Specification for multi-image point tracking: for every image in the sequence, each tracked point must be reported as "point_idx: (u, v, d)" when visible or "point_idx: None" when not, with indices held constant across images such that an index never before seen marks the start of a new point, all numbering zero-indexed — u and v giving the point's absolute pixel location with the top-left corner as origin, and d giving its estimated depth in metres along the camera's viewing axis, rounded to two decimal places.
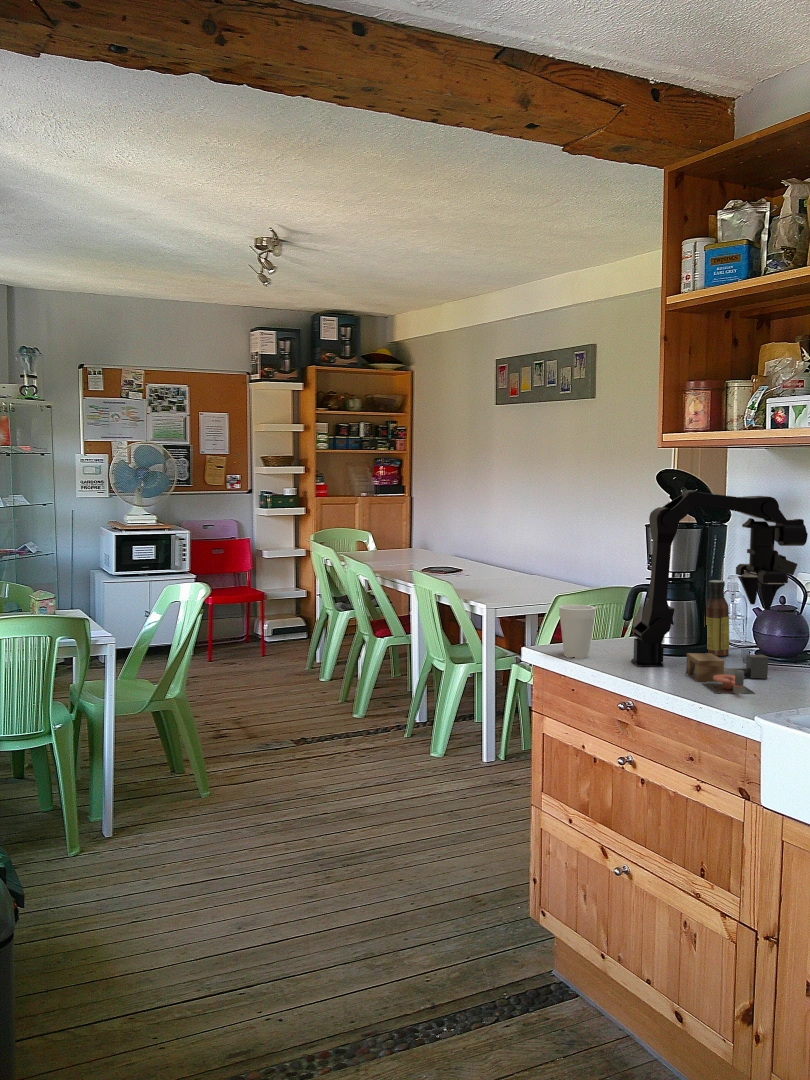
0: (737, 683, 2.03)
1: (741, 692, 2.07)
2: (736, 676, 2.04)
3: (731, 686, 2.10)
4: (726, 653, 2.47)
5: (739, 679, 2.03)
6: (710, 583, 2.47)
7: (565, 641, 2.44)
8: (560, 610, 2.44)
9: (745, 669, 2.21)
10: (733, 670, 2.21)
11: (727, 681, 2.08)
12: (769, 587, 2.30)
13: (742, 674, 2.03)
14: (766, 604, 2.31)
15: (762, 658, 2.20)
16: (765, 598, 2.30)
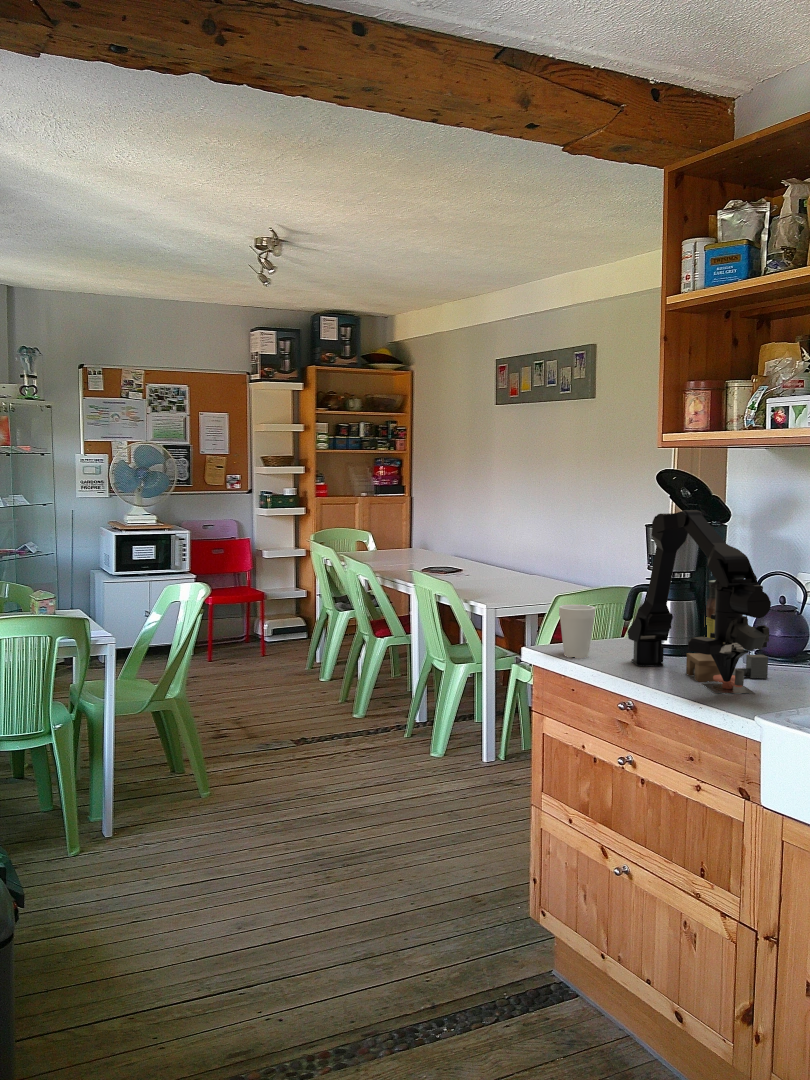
0: (737, 683, 2.03)
1: (741, 692, 2.07)
2: (736, 676, 2.04)
3: (731, 686, 2.10)
4: None
5: (739, 679, 2.03)
6: (710, 583, 2.47)
7: (565, 641, 2.44)
8: (560, 610, 2.44)
9: (745, 669, 2.21)
10: None
11: None
12: (722, 655, 2.03)
13: (742, 674, 2.03)
14: (722, 674, 2.04)
15: (762, 658, 2.20)
16: (719, 667, 2.04)
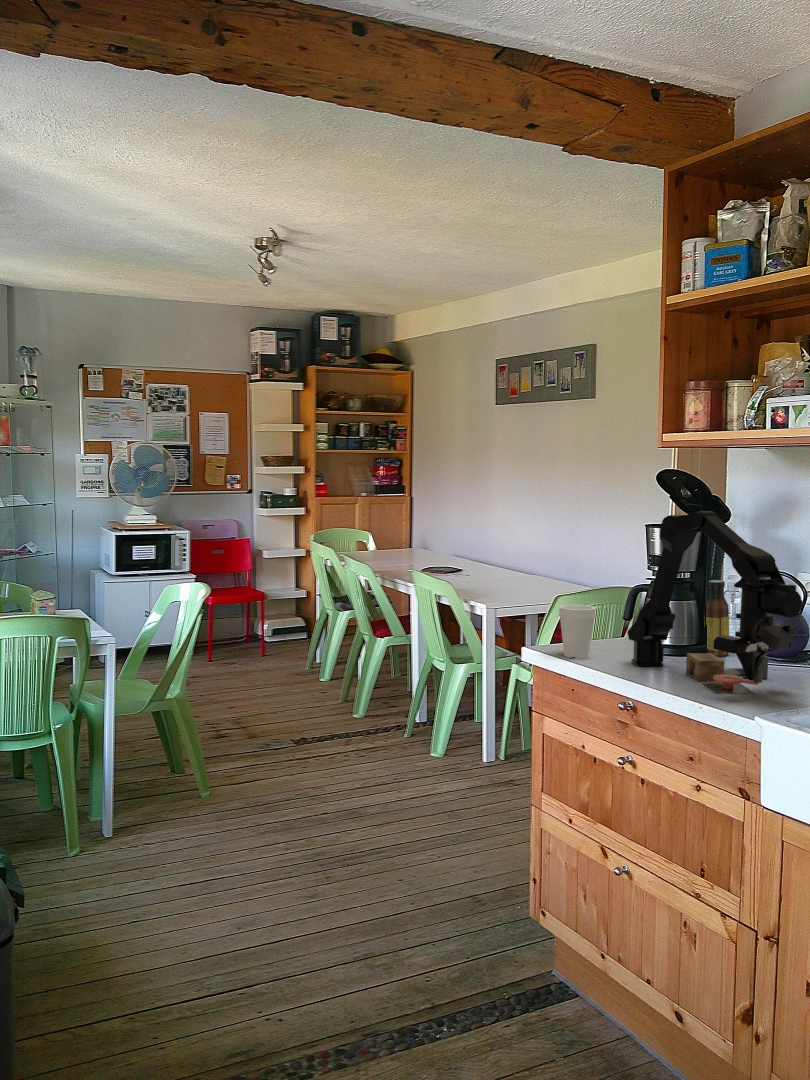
0: (760, 681, 2.06)
1: (741, 692, 2.07)
2: (758, 674, 2.06)
3: (733, 685, 2.10)
4: (726, 653, 2.47)
5: (761, 676, 2.06)
6: (710, 583, 2.47)
7: (565, 641, 2.44)
8: (560, 610, 2.44)
9: None
10: (733, 670, 2.21)
11: (739, 681, 2.08)
12: (747, 654, 2.04)
13: None
14: (747, 673, 2.05)
15: None
16: (744, 665, 2.05)
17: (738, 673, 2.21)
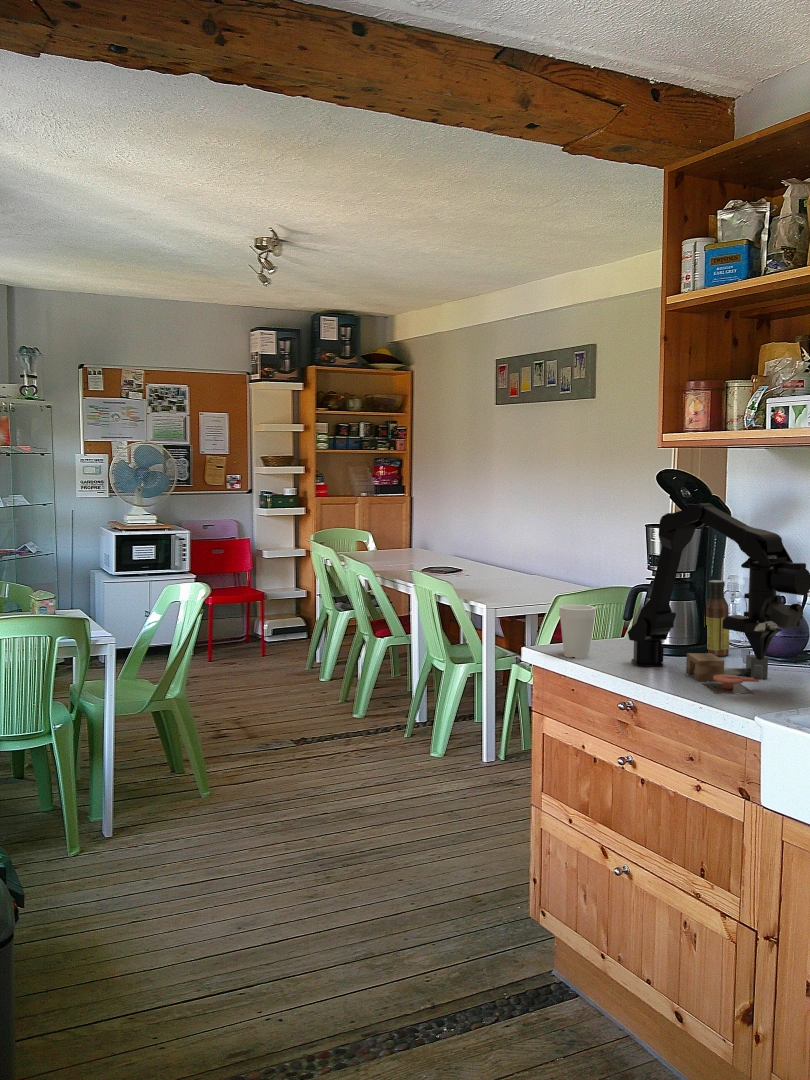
0: (761, 677, 2.09)
1: (741, 692, 2.07)
2: (760, 671, 2.09)
3: None
4: (726, 653, 2.47)
5: (762, 673, 2.09)
6: (710, 583, 2.47)
7: (565, 641, 2.44)
8: (560, 610, 2.44)
9: (745, 669, 2.21)
10: (733, 670, 2.21)
11: (742, 680, 2.09)
12: (756, 634, 2.06)
13: None
14: (755, 652, 2.07)
15: None
16: (752, 645, 2.07)
17: (738, 673, 2.21)
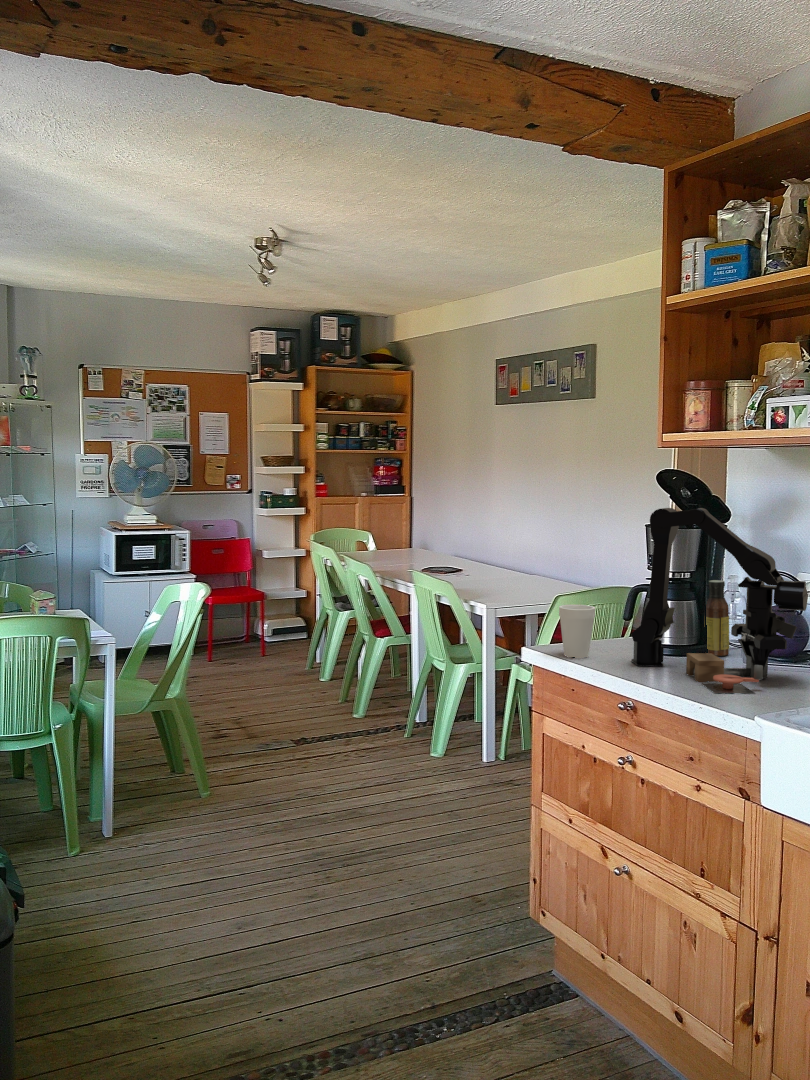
0: (761, 677, 2.09)
1: (741, 692, 2.07)
2: (760, 671, 2.09)
3: None
4: (726, 653, 2.47)
5: (762, 673, 2.09)
6: (710, 583, 2.47)
7: (565, 641, 2.44)
8: (560, 610, 2.44)
9: (745, 669, 2.21)
10: (733, 670, 2.21)
11: (742, 680, 2.09)
12: (761, 650, 2.19)
13: None
14: None
15: None
16: (757, 661, 2.19)
17: (738, 673, 2.21)
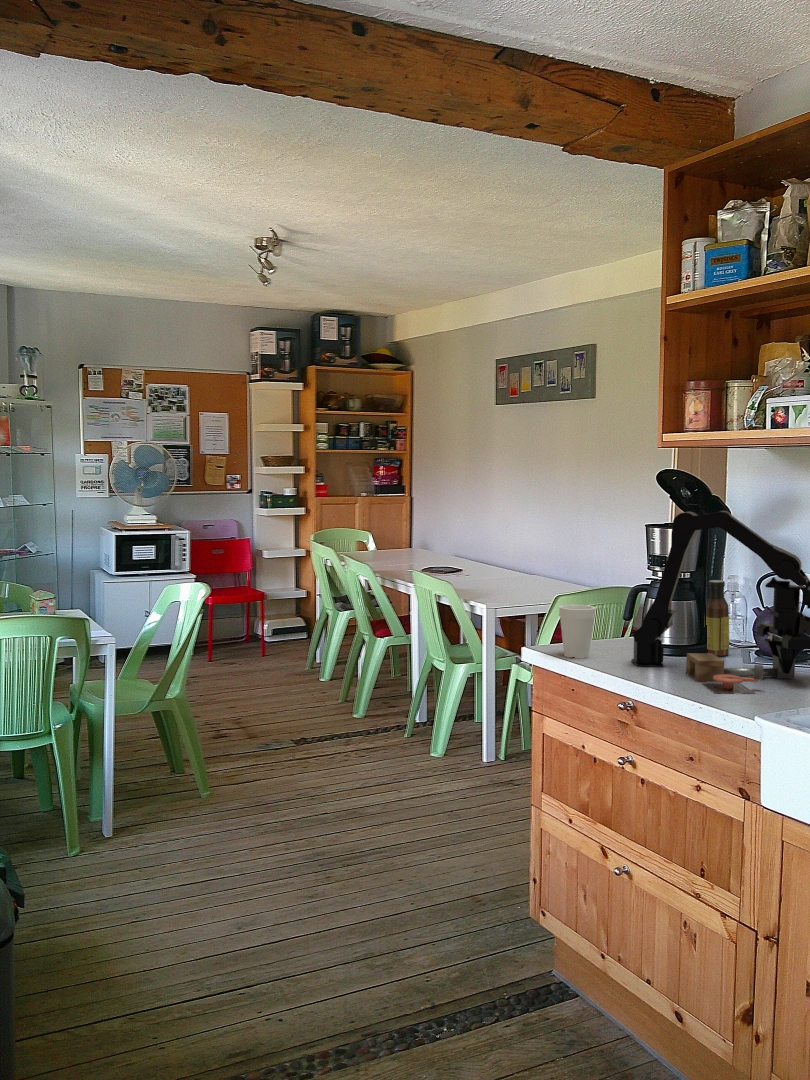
0: (761, 677, 2.09)
1: (741, 692, 2.07)
2: (760, 671, 2.09)
3: None
4: (726, 653, 2.47)
5: (762, 673, 2.09)
6: (710, 583, 2.47)
7: (565, 641, 2.44)
8: (560, 610, 2.44)
9: (772, 669, 2.21)
10: None
11: (742, 680, 2.09)
12: (789, 650, 2.19)
13: None
14: (785, 667, 2.20)
15: None
16: (784, 661, 2.19)
17: (765, 673, 2.21)
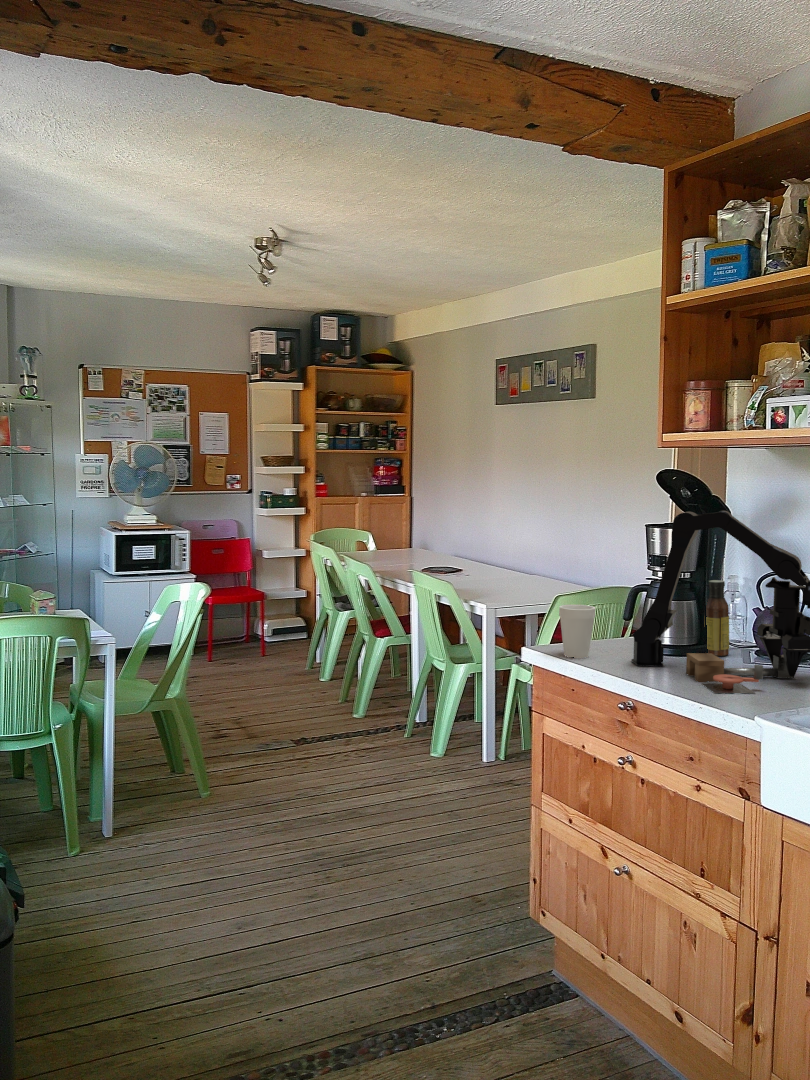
0: (761, 677, 2.09)
1: (741, 692, 2.07)
2: (760, 671, 2.09)
3: None
4: (726, 653, 2.47)
5: (762, 673, 2.09)
6: (710, 583, 2.47)
7: (565, 641, 2.44)
8: (560, 610, 2.44)
9: (772, 669, 2.21)
10: None
11: (742, 680, 2.09)
12: (794, 652, 2.16)
13: None
14: (791, 670, 2.17)
15: None
16: (790, 664, 2.16)
17: (765, 673, 2.21)
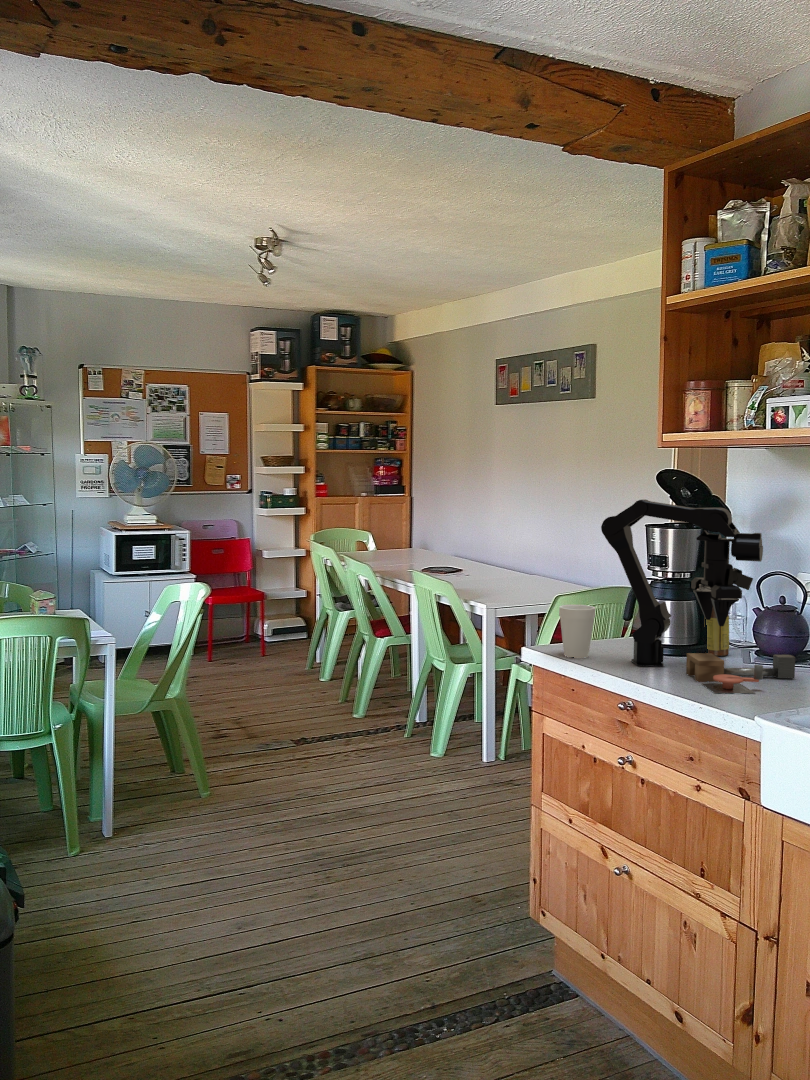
0: (761, 677, 2.09)
1: (741, 692, 2.07)
2: (760, 671, 2.09)
3: None
4: (726, 653, 2.47)
5: (762, 673, 2.09)
6: None
7: (565, 641, 2.44)
8: (560, 610, 2.44)
9: (772, 669, 2.21)
10: None
11: (742, 680, 2.09)
12: (723, 602, 2.22)
13: None
14: (720, 620, 2.23)
15: (789, 658, 2.20)
16: (719, 614, 2.22)
17: (765, 673, 2.21)
